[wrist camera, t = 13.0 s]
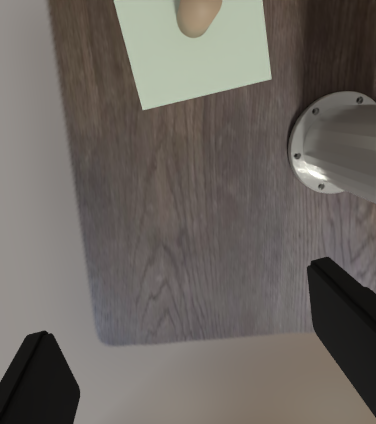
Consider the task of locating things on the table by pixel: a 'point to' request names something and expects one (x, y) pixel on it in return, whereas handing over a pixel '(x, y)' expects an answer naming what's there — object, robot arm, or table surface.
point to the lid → (193, 47)
